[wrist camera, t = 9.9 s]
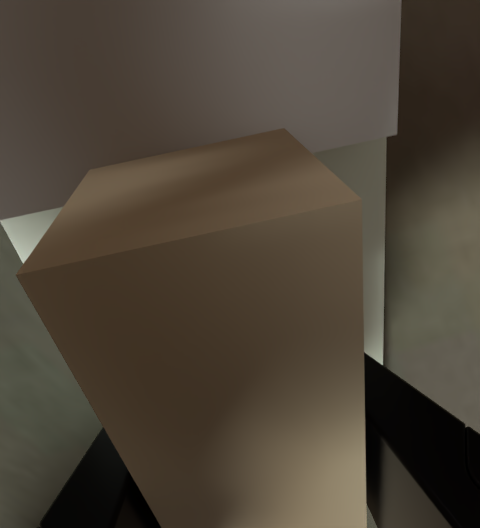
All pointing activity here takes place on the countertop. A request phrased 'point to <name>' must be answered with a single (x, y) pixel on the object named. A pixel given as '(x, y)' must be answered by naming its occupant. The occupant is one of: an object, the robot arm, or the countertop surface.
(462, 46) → the countertop surface
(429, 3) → the countertop surface
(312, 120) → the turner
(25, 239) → the board
